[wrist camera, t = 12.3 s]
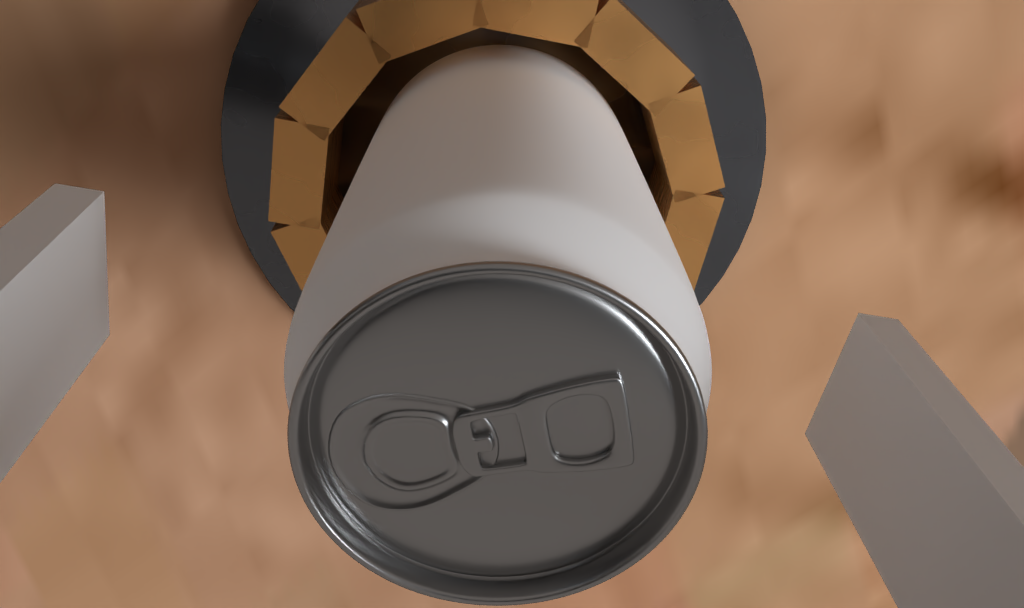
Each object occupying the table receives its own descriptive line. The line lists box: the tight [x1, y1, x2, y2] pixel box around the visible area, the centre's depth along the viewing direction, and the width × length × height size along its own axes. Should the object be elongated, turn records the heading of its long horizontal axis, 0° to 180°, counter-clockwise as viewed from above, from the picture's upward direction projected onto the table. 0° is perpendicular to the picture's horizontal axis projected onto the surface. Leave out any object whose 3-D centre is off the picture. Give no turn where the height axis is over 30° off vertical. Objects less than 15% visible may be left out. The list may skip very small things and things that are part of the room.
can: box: [284, 45, 712, 606], centre depth 17 cm, size 6×6×12 cm
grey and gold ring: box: [221, 0, 766, 312], centre depth 22 cm, size 14×14×4 cm
